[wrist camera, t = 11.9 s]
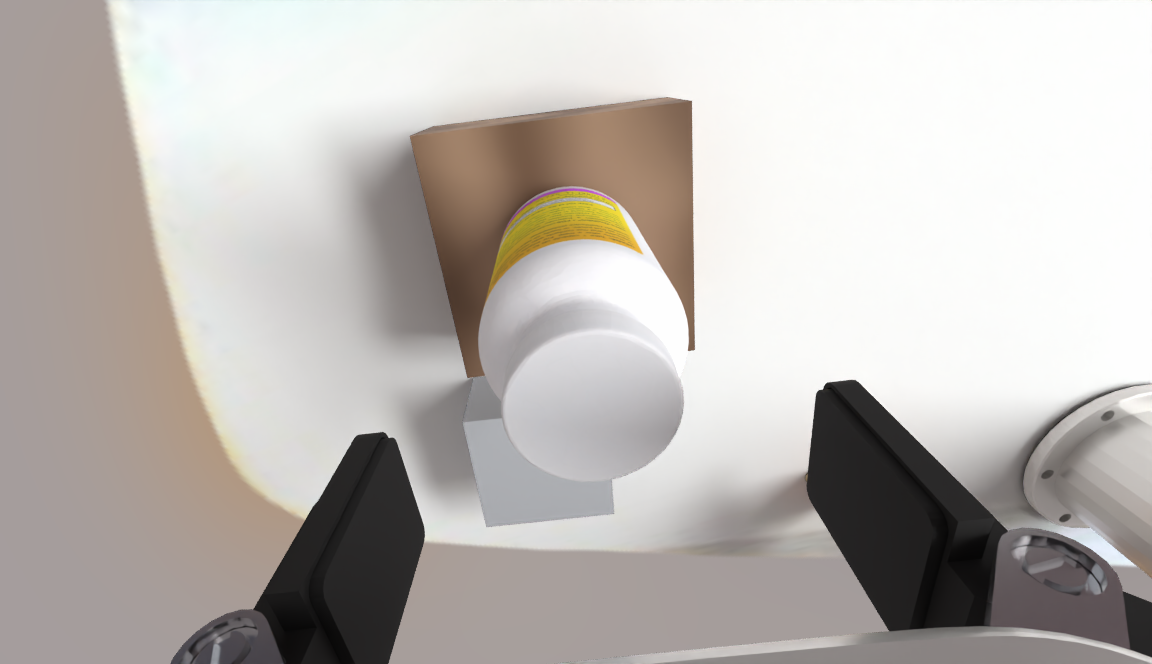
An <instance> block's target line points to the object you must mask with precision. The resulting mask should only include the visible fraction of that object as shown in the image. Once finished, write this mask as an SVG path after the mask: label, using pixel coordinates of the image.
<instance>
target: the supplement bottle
mask: <svg viewBox="0 0 1152 664" xmlns="http://www.w3.org/2000/svg"><path fill="white" fill-rule="evenodd" d="M688 344H689V337H688V323H687V318H686V314H685V310H684V308H683V305H682V302H681V300H680V298H679V296H678V294H677V292H676V290H675V289H674V287H673V285H672V284H671V282H670V280H669V279H668V277H667V276H666V274H665V273H664V271H663V269H662V268H661V266H660V264H659V263H658V261H657V259H656V258H655V256H654V254H653V253H652V251H651V249H650V248H649V246H648V244H647V243H646V241H645V239H644V238H643V236H642V234H641V233H640V231H639V229H638V227H637V226H636V224H635V223H634V221H633V219H632V218H631V216H630V215H629V214H628V212H627V211H626V210H625V209H624V208H623V207H622V206H621V205H620V204H619V203H618V202H616V201H615V200H614V199H612V198H611V197H609V196H607V195H605V194H603V193H601V192H599V191H596V190H593V189H589V188H585V187H577V186H568V187H559V188H555V189H551V190H548V191H545V192H542V193H540V194H538V195H536V196H534V197H533V198H531V199H530V200H529V201H527V202H526V203H525V204H524V205H523V206H521V207H520V208H519V209H518V211H517V212H516V213H515V214H514V215H513V217H512V218H511V220H510V221H509V223H508V225H507V227H506V229H505V231H504V234H503V237H502V240H501V243H500V247H499V251H498V255H497V259H496V263H495V267H494V271H493V274H492V278H491V282H490V286H489V290H488V294H487V297H486V301H485V305H484V309H483V312H482V316H481V321H480V326H479V336H478V347H479V356H480V361H481V365H482V368H483V371H484V374H485V377H486V379H487V381H488V383H489V385H490V386H491V388H492V390H493V391H494V393H495V394H496V396H497V397H498V398H499V399H500V401H501V415H502V421H503V426H504V429H505V431H506V434H507V436H508V438H509V440H510V442H511V443H512V445H513V446H514V448H515V449H516V450H517V451H518V453H519V454H520V455H521V456H522V457H523V458H524V459H525V460H527V461H528V462H529V463H530V464H532V465H533V466H535V467H536V468H538V469H540V470H541V471H543V472H546V473H548V474H550V475H553V476H556V477H559V478H563V479H567V480H572V481H580V482H594V481H604V480H610V479H615V478H618V477H622V476H625V475H628V474H630V473H632V472H635V471H637V470H638V469H640V468H642V467H644V466H646V465H647V464H648V463H650V462H651V461H652V460H654V459H655V458H656V457H657V456H659V455H660V454H661V453H662V452H663V451H664V450H665V449H666V447H667V446H668V445H669V443H670V442H671V440H672V439H673V437H674V436H675V434H676V431H677V429H678V427H679V425H680V422H681V418H682V414H683V406H684V396H683V389H682V385H681V381H680V375H681V373H682V371H683V368H684V365H685V362H686V357H687V351H688Z"/></svg>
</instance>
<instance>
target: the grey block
mask: <svg viewBox="0 0 1152 664" xmlns="http://www.w3.org/2000/svg"><path fill="white" fill-rule="evenodd" d="M462 423H463V427H464V431H465V436H466V440H467V444H468V449H469V453H470V458H471V462H472V466H473V471H474V475H475V479H476V484H477V488H478V493H479V497H480V501H481V506H482V510H483V514H484V519H485V523H486V527H492V526H502V525H512V524H521V523H531V522H540V521H550V520H560V519H569V518H579V517H589V516H598V515H608V514H614V505H613V492H612V479H610V480H604V481H594V482H580V481H572V480H567V479H563V478H559V477H556V476H553V475H550V474H548V473H546V472H543V471H541V470H540V469H538V468H536V467H535V466H533V465H532V464H530V463H529V462H528V461H527V460H525V459H524V458H523V457H522V456H521V455H520V454H519V453H518V451H517V450H516V449H515V448H514V446H513V445H512V443H511V442H510V440H509V438H508V436H507V434H506V431H505V429H504V426H503V421H502V415H501V401H500V399H499V398H498V397H497V396H496V394H495V393H494V391H493V390H492V388H491V386H490V385H489V383H488V381H487V379H486V377H485V376H483V377H474V378H473V382H472V386H471V390H470V394H469V398H468V402H467V406H466V410H465V414H464V418H463V422H462Z"/></svg>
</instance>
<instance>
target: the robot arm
mask: <svg viewBox="0 0 1152 664" xmlns="http://www.w3.org/2000/svg"><path fill="white" fill-rule="evenodd" d="M1023 487H1024V494H1025V496H1026V498H1027V501H1028V503H1029V504H1030V505H1031V506H1032V507H1033V508H1034V509H1035V510H1036V511H1037V512H1038V513H1040V514H1041V515H1042V516H1043V517H1044V518H1046V519H1047V520H1048V521H1050V522H1052V523H1055V524H1057V525H1060V526H1066V527H1071V528H1091V529H1092V530H1094V531H1095V532H1096V533H1097V534H1098V535H1100V536H1101V537H1102V538H1103V539H1105V540H1106V541H1107V542H1108V543H1109V544H1111V545H1112V546H1113V547H1114V548H1115V549H1117V550H1118V551H1119V552H1120V553H1121V554H1123V555H1124V556H1125V557H1126V558H1128V559H1129V560H1130V561H1131V562H1132V563H1134V564H1135V565H1136V566H1137V567H1138V568H1140V569H1141V570H1142V571H1144V573H1146V574H1147V575H1148V576H1149V577H1151V578H1152V384H1149V385H1141V386H1133V387H1129V388H1126V389H1122V390H1118V391H1114V392H1112V393H1109V394H1107V395H1104V396H1102V397H1099V398H1097V399H1095V400H1093V401H1091V402H1089V403H1087V404H1086V405H1084V406H1082V407H1080V408H1078V409H1077V410H1076V411H1074V412H1073V413H1071V414H1070V415H1068V416H1067V417H1066V418H1064V419H1063V420H1062V421H1061V422H1059V423H1058V424H1057V425H1056V426H1055V427H1054V428H1053V429H1052V430H1050V431H1049V433H1048V434H1047V435H1046V436H1045V437H1044V438H1043V439H1042V441H1041V442H1040V443H1039V444H1038V446H1037V447H1036V449H1035V450H1034V452H1033V454H1032V455H1031V457H1030V459H1029V462H1028V464H1027V466H1026V469H1025V474H1024V480H1023ZM807 492H808V496H809V499H810V501H811V503H812V504H813V506H814V508H815V509H816V511H817V513H818V514H819V516H820V518H821V519H822V521H823V523H824V524H825V526H826V527H827V529H828V531H829V532H830V534H831V536H832V537H833V539H834V541H835V542H836V544H837V546H838V547H839V549H840V551H841V552H842V554H843V556H844V557H845V559H846V561H847V562H848V564H849V565H850V567H851V569H852V570H853V572H854V574H855V575H856V577H857V579H858V580H859V582H860V583H861V585H862V587H863V588H864V590H865V592H866V594H867V595H868V597H869V599H870V600H871V602H872V604H873V605H874V607H875V608H876V610H877V612H878V613H879V615H880V617H881V618H882V620H883V622H884V623H885V625H886V626H887V628H888V630H889V631H888V632H876V633H863V634H850V635H840V636H829V637H818V638H808V639H798V640H788V641H776V642H766V643H755V644H746V645H735V646H724V647H714V648H704V649H694V650H684V651H675V652H664V653H654V654H645V655H634V656H625V657H615V658H605V659H595V660H585V661H576V662H566V663H556V664H1152V603H1151V602H1149V601H1146V600H1144V599H1141V598H1139V597H1136V596H1133V595H1131V594H1128V593H1126V592H1123V589H1122V585H1121V582H1120V580H1119V577H1118V575H1117V573H1116V572H1115V571H1114V570H1113V568H1112V567H1111V566H1110V565H1109V564H1108V562H1107V561H1105V560H1104V559H1103V558H1102V557H1100V556H1099V555H1098V554H1096V553H1095V552H1094V551H1093V550H1091V549H1089V548H1088V547H1086V546H1084V545H1082V544H1080V543H1079V542H1077V541H1075V540H1073V539H1070V538H1068V537H1065V536H1063V535H1060V534H1058V533H1054V532H1050V531H1046V530H1042V529H1034V528H1019V529H1014V530H1010V531H1007V530H1006V529H1005V528H1004V527H1003V526H1002V525H1001V524H1000V523H999V522H998V521H997V520H996V519H995V517H994V516H993V515H992V514H991V513H990V512H989V511H988V510H987V509H986V508H985V507H984V506H983V505H982V504H981V503H980V502H979V501H978V500H977V499H976V498H975V497H974V496H973V495H972V494H970V493H969V492H968V491H967V490H966V489H965V488H964V487H963V486H962V485H961V484H960V483H959V482H958V481H957V480H956V479H955V478H954V477H953V476H952V475H951V474H950V473H949V472H948V471H947V470H946V469H945V468H944V467H943V466H942V465H941V464H940V463H939V462H938V461H937V460H936V459H935V458H934V457H933V456H932V455H931V454H930V453H929V452H928V451H927V450H926V449H925V448H924V447H923V446H922V445H921V444H920V443H919V442H918V441H917V440H916V439H915V438H914V437H913V436H912V435H911V434H910V433H909V432H908V431H907V430H906V429H905V428H904V427H903V426H902V425H901V424H900V423H899V422H898V421H897V420H896V419H895V418H894V417H893V416H892V415H891V414H890V413H889V412H888V411H887V410H886V409H885V408H884V407H883V406H882V405H881V404H880V403H879V402H878V401H877V400H876V399H875V398H874V397H873V396H872V395H871V394H870V393H869V392H868V391H867V390H866V389H865V388H864V387H863V386H862V385H861V384H860V383H859V382H857V381H856V380H846V381H838V382H829V383H826V384H825V386H824V388H823V390H819V391H818V392H817V394H816V400H815V410H814V419H813V429H812V438H811V448H810V457H809V467H808V477H807ZM424 537H425V531H424V525H423V522H422V519H421V516H420V512H419V509H418V506H417V503H416V500H415V497H414V494H413V491H412V488H411V485H410V482H409V479H408V476H407V472H406V469H405V466H404V463H403V460H402V457H401V454H400V451H399V448H398V445H397V442H396V440H395V439H394V438H388V436H387V435H386V433H384V432H380V433H371V434H362V435H357V436H356V437H355V438H354V440H353V442H352V443H351V445H350V447H349V449H348V450H347V452H346V454H345V456H344V457H343V459H342V461H341V462H340V464H339V466H338V468H337V469H336V471H335V473H334V475H333V476H332V478H331V480H330V482H329V483H328V485H327V487H326V488H325V490H324V492H323V494H322V495H321V497H320V499H319V501H318V502H317V503H316V504H315V505H314V506H313V508H312V510H311V511H310V513H309V515H308V516H307V518H306V520H305V522H304V523H303V525H302V527H301V529H300V530H299V532H298V534H297V536H296V537H295V539H294V540H293V542H292V544H291V546H290V548H289V550H288V551H287V553H286V554H285V556H284V558H283V560H282V561H281V563H280V565H279V566H278V568H277V570H276V571H275V573H274V575H273V577H272V579H271V580H270V582H269V583H268V585H267V587H266V589H265V590H264V592H263V594H262V596H261V597H260V599H259V601H258V602H257V604H256V606H255V608H254V609H253V610H252V609H250V610H238V611H234V612H231V613H227V614H225V615H223V616H221V617H219V618H217V619H215V620H213V621H211V622H209V623H208V624H207V625H205V626H204V627H202V628H201V629H200V630H198V631H197V632H196V633H195V634H194V635H192V636H191V637H190V638H189V639H188V640H187V641H186V642H185V643H184V644H183V645H182V647H181V648H180V649H179V651H178V652H177V653H176V655H175V656H174V657H173V659H172V661H171V664H388V663H389V659H390V656H391V652H392V649H393V646H394V642H395V639H396V635H397V632H398V629H399V625H400V622H401V619H402V615H403V612H404V608H405V605H406V602H407V598H408V595H409V591H410V588H411V585H412V581H413V578H414V574H415V571H416V567H417V564H418V561H419V557H420V554H421V550H422V547H423V544H424Z"/></svg>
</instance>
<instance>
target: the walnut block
mask: <svg viewBox="0 0 1152 664" xmlns="http://www.w3.org/2000/svg"><path fill="white" fill-rule="evenodd" d="M410 139H411V143H412V147H413V152H414V156H415V160H416V164H417V168H418V173H419V177H420V181H421V185H422V189H423V193H424V198H425V202H426V206H427V210H428V214H429V219H430V223H431V227H432V231H433V235H434V239H435V244H436V248H437V252H438V256H439V260H440V265H441V269H442V273H443V277H444V281H445V286H446V290H447V294H448V298H449V302H450V306H451V311H452V315H453V319H454V323H455V327H456V332H457V336H458V340H459V344H460V348H461V352H462V357H463V361H464V365H465V369H466V373H467V378H470V377H479V376H485V374H484V371H483V368H482V365H481V361H480V356H479V347H478V336H479V326H480V321H481V316H482V312H483V309H484V305H485V301H486V297H487V294H488V290H489V286H490V282H491V278H492V274H493V271H494V267H495V263H496V259H497V255H498V251H499V247H500V243H501V240H502V237H503V234H504V231H505V229H506V227H507V225H508V223H509V221H510V220H511V218H512V217H513V215H514V214H515V213H516V212H517V211H518V209H519V208H520V207H521V206H523V205H524V204H525V203H526V202H527V201H529V200H530V199H531V198H533V197H534V196H536V195H538V194H540V193H542V192H545V191H548V190H551V189H555V188H559V187H568V186H577V187H585V188H589V189H593V190H596V191H599V192H601V193H603V194H605V195H607V196H609V197H611V198H612V199H614V200H615V201H616V202H618V203H619V204H620V205H621V206H622V207H623V208H624V209H625V210H626V211H627V212H628V214H629V215H630V216H631V218H632V219H633V221H634V223H635V224H636V226H637V227H638V229H639V231H640V233H641V234H642V236H643V238H644V239H645V241H646V243H647V244H648V246H649V248H650V249H651V251H652V253H653V254H654V256H655V258H656V259H657V261H658V263H659V264H660V266H661V268H662V269H663V271H664V273H665V274H666V276H667V277H668V279H669V280H670V282H671V284H672V285H673V287H674V289H675V290H676V292H677V294H678V296H679V298H680V300H681V302H682V305H683V308H684V310H685V314H686V318H687V323H688V337H689V344H688V351H691V350H695V335H694V250H693V165H692V101H688V100H681V99H675V98H668V97H666V98H658V99H650V100H642V101H634V102H626V103H618V104H610V105H602V106H594V107H585V108H577V109H569V110H561V111H553V112H545V113H537V114H529V115H521V116H513V117H505V118H497V119H489V120H481V121H473V122H465V123H457V124H449V125H441V126H433V127H431V128H428V129H426V130H423V131H421V132H419V133H416V134H414V135H411V136H410Z"/></svg>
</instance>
